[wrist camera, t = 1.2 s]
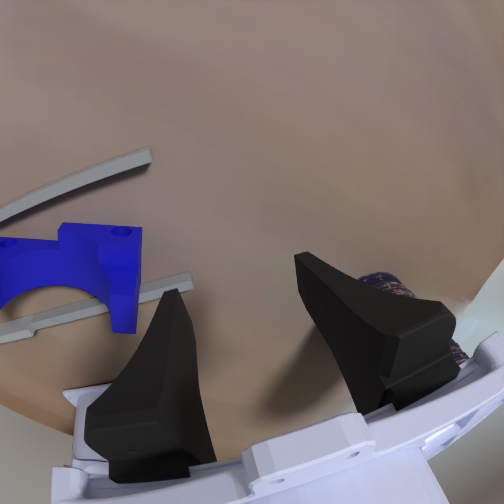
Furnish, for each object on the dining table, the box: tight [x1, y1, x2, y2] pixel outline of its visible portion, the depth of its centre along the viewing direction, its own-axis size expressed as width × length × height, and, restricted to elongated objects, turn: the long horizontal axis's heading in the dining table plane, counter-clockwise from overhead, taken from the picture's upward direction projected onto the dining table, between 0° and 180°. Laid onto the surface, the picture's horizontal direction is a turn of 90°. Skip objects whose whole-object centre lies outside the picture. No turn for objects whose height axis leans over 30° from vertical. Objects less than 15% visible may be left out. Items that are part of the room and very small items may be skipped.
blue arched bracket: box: [0, 222, 142, 334], centre depth 18 cm, size 12×4×6 cm, turn 78°
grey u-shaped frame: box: [0, 146, 194, 344], centre depth 19 cm, size 11×30×2 cm, turn 100°
